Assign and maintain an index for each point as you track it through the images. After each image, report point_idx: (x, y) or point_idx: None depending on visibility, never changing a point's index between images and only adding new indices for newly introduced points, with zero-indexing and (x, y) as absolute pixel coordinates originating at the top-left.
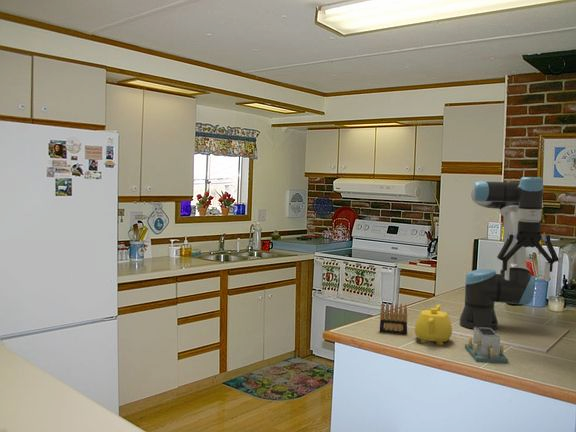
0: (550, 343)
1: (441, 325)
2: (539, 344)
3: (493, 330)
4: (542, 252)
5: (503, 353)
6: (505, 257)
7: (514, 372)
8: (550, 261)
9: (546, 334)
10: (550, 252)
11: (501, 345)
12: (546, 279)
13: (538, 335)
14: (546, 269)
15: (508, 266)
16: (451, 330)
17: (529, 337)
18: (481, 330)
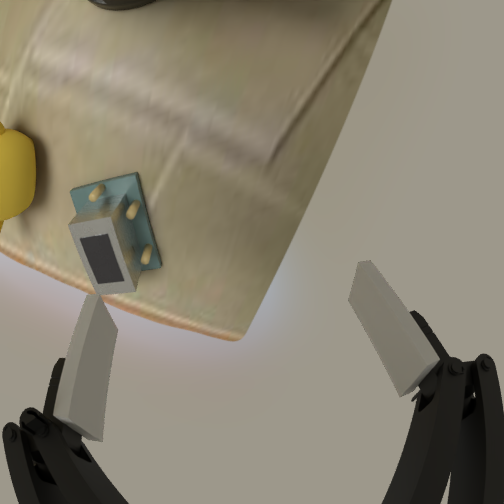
0: (308, 86)
1: (6, 219)
2: (274, 99)
3: (117, 242)
4: (393, 484)
5: (151, 250)
6: (54, 450)
7: (170, 304)
8: (422, 400)
9: (325, 10)
10: (470, 436)
11: (143, 263)
12: (354, 303)
13: (300, 18)
14: (385, 347)
15: (98, 410)
16: (28, 179)
17: (266, 37)
18: (89, 255)
